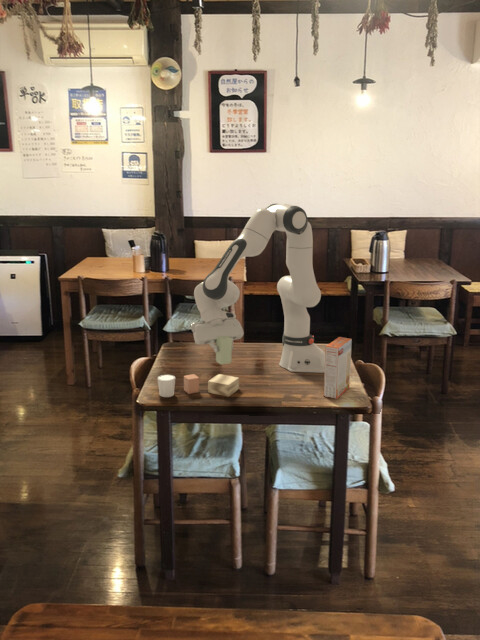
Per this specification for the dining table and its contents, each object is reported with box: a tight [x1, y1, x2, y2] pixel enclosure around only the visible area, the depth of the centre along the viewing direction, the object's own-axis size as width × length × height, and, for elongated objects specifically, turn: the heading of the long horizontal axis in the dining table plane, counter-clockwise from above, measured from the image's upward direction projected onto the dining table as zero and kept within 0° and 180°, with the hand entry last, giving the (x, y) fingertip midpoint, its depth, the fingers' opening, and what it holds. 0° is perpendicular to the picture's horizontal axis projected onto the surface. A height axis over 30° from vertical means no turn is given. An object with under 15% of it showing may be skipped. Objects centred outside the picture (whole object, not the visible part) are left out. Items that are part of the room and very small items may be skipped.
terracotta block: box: [183, 373, 200, 395], centre depth 242 cm, size 4×4×6 cm
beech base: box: [207, 373, 240, 397], centre depth 243 cm, size 9×9×5 cm
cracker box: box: [323, 336, 353, 400], centre depth 240 cm, size 14×6×21 cm, turn 150°
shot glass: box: [157, 374, 176, 398], centre depth 238 cm, size 7×7×7 cm
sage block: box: [215, 336, 233, 365], centre depth 239 cm, size 4×4×10 cm
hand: (224, 350), depth 238 cm, fingers closed on sage block, 4 cm apart
